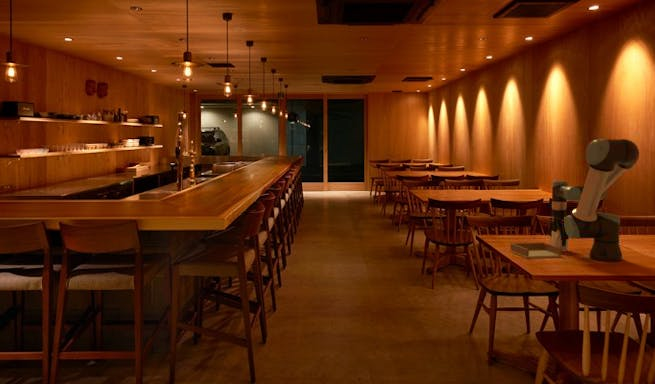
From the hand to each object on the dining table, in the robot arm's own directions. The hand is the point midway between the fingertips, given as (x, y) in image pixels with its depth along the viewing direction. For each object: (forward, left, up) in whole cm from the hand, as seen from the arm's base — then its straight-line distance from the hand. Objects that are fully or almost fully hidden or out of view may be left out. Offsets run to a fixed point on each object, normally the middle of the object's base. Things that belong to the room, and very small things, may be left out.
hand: (557, 249), depth 314 cm
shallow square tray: (-8, +18, 0) cm, 19 cm away
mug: (-1, 0, 0) cm, 1 cm away
